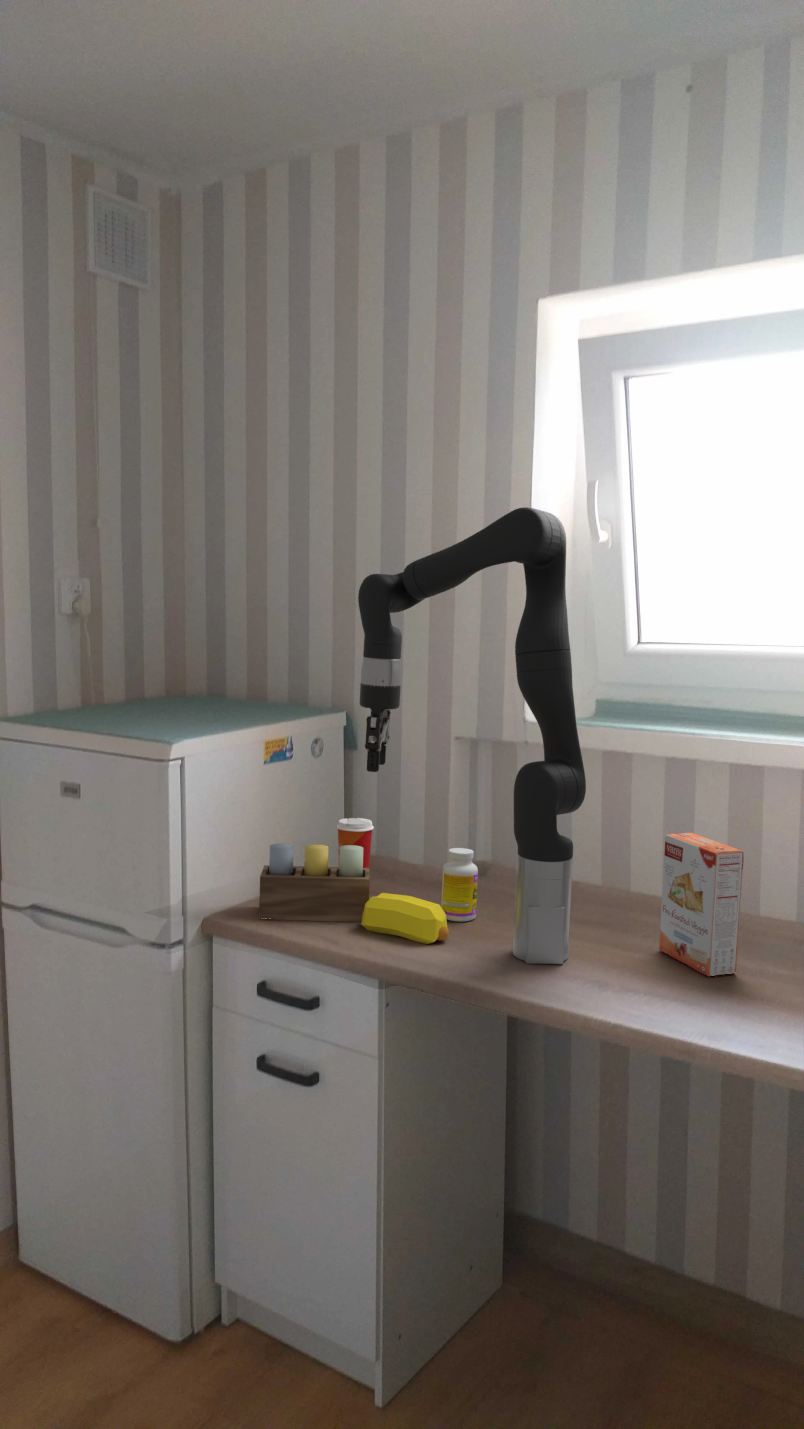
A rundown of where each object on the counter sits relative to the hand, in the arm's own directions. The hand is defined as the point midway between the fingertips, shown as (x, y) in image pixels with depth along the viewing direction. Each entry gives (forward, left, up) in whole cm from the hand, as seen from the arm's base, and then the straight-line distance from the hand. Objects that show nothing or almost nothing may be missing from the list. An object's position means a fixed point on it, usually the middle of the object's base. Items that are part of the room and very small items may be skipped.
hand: (376, 767), depth 198 cm
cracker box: (-26, -54, -28) cm, 66 cm away
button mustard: (-3, +11, -21) cm, 24 cm away
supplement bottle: (-3, -16, -28) cm, 32 cm away
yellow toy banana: (-14, -6, -28) cm, 32 cm away
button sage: (-3, +4, -21) cm, 21 cm away
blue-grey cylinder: (-3, +17, -21) cm, 27 cm away
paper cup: (+16, +4, -28) cm, 32 cm away
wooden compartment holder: (-3, +11, -28) cm, 30 cm away
